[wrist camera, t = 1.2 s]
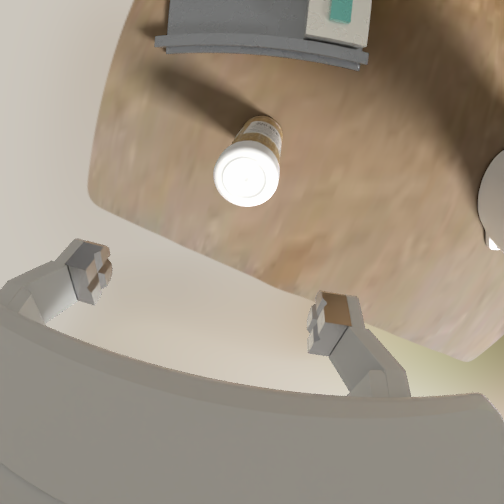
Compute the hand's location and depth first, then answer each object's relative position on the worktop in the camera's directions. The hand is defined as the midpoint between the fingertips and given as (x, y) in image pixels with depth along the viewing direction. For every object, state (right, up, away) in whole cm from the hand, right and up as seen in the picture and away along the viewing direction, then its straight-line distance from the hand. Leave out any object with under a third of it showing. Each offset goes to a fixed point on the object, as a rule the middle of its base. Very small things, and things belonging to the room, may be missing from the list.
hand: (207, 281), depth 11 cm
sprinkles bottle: (+3, +14, +20) cm, 24 cm away
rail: (+3, +25, +11) cm, 28 cm away
